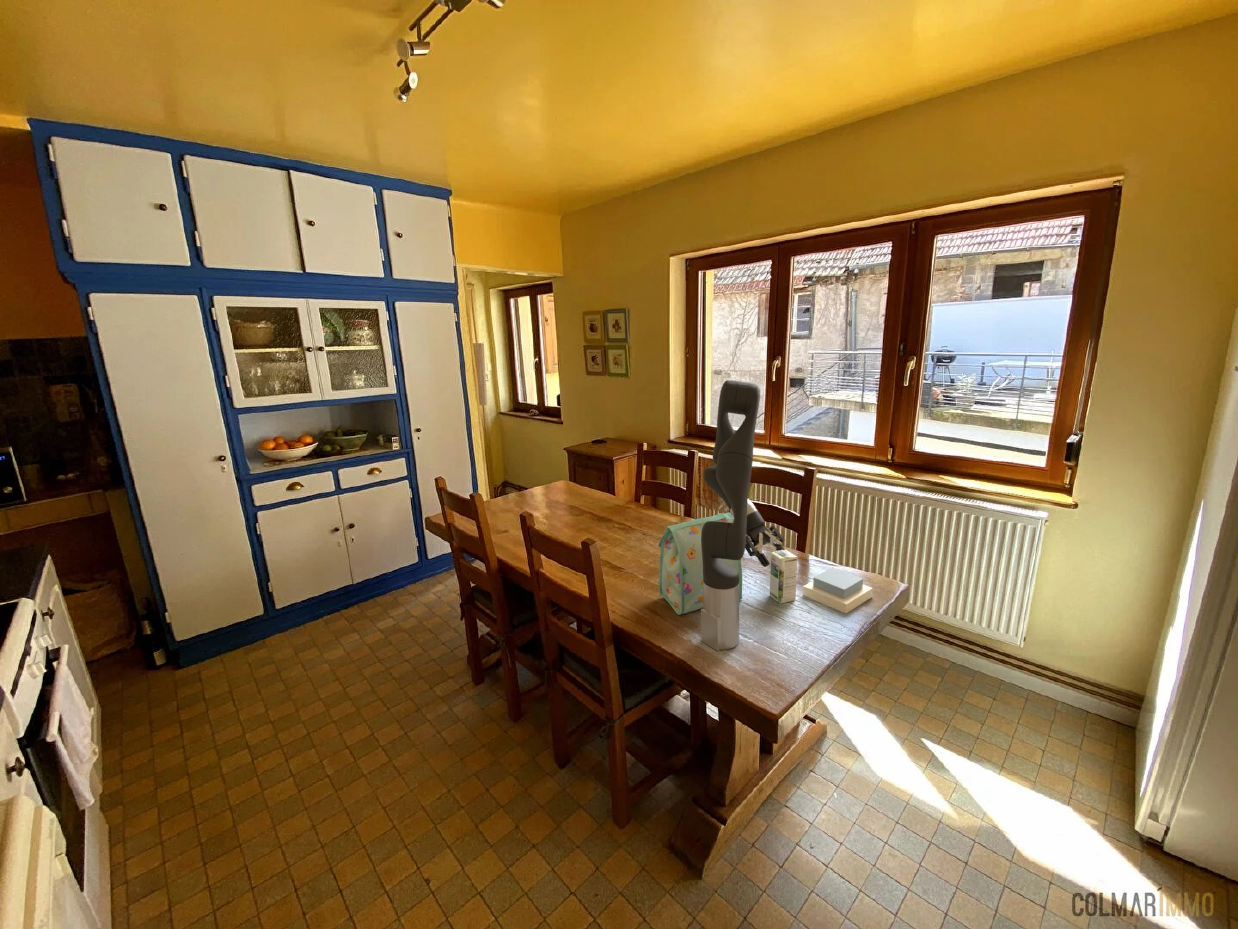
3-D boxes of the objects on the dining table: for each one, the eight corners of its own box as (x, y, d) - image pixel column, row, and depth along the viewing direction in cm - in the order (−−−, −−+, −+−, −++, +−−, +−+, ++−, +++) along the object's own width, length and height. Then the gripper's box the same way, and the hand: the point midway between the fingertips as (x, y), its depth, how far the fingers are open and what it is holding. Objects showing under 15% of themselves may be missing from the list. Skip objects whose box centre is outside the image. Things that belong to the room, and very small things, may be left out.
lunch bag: (718, 579, 167) (717, 502, 161) (747, 602, 153) (748, 518, 146) (655, 595, 160) (652, 515, 153) (680, 621, 145) (677, 533, 138)
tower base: (845, 613, 144) (847, 594, 142) (802, 594, 155) (803, 577, 153) (871, 597, 152) (873, 579, 150) (829, 580, 163) (830, 563, 161)
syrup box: (768, 595, 156) (769, 552, 152) (785, 591, 157) (786, 548, 154) (779, 604, 150) (781, 559, 147) (796, 600, 152) (798, 556, 148)
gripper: (738, 516, 153) (768, 563, 146) (768, 505, 161) (798, 549, 154) (725, 527, 158) (753, 573, 152) (755, 516, 166) (783, 559, 160)
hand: (776, 561), depth 153 cm, fingers open, 8 cm apart
